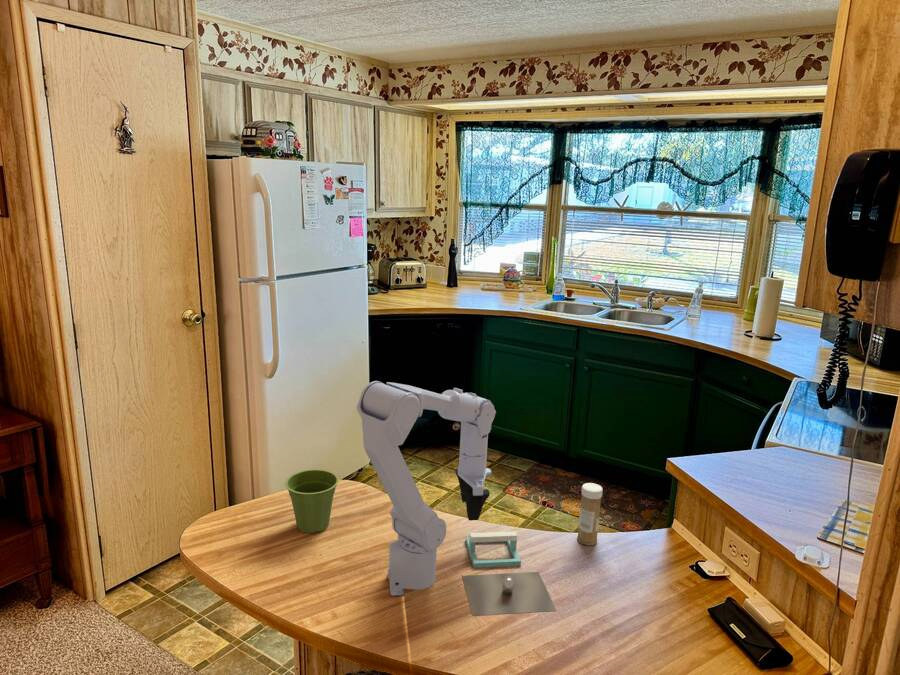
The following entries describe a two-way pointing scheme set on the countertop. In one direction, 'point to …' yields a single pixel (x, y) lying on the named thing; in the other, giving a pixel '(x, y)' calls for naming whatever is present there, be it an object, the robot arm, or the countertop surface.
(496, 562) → the teal square frame
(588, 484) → the sprinkles bottle
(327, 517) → the plant pot
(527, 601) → the post stand
